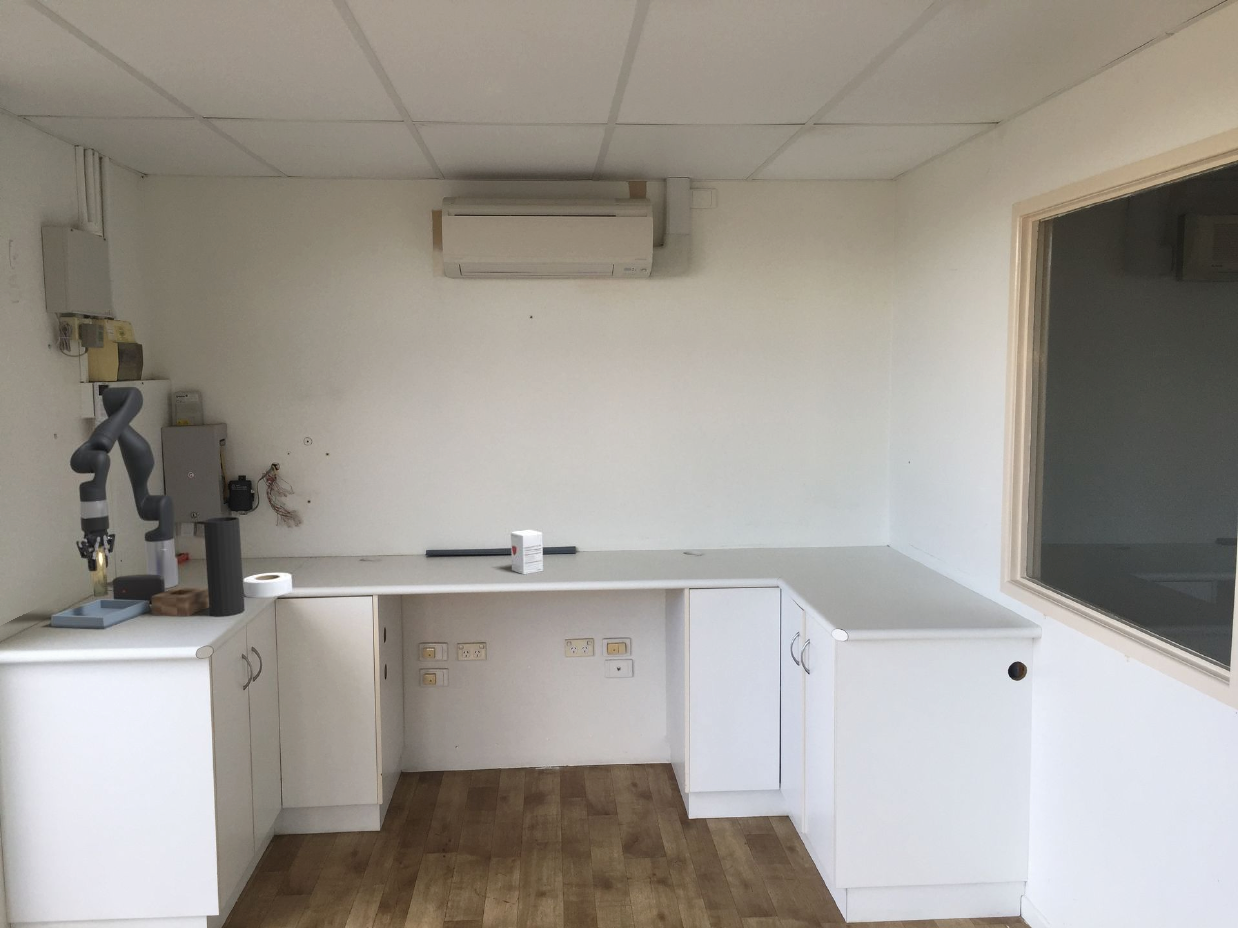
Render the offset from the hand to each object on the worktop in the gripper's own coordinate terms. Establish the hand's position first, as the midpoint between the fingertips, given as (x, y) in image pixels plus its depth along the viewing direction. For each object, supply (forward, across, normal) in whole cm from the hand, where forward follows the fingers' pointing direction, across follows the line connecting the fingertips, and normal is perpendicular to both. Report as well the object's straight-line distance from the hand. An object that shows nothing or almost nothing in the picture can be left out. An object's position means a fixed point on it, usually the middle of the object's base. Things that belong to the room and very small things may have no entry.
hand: (98, 569), depth 275 cm
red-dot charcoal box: (+16, -18, -1) cm, 24 cm away
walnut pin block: (+16, -12, +19) cm, 28 cm away
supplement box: (+16, -80, +115) cm, 141 cm away
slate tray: (+16, 0, 0) cm, 16 cm away
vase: (+16, -12, +35) cm, 40 cm away
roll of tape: (+16, -38, +33) cm, 53 cm away
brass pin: (+8, 0, 0) cm, 8 cm away
